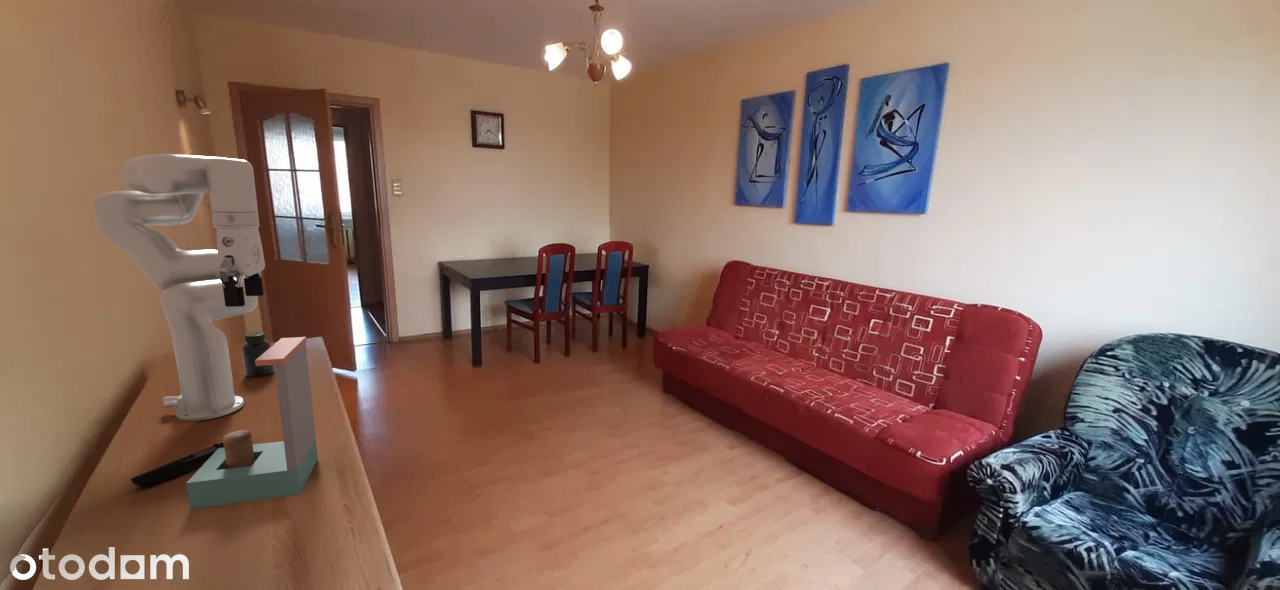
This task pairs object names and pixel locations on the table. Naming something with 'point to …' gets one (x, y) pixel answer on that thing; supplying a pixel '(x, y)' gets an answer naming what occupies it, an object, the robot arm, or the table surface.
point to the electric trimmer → (175, 467)
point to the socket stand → (275, 462)
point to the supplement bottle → (255, 354)
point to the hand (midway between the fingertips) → (245, 300)
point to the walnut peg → (239, 449)
